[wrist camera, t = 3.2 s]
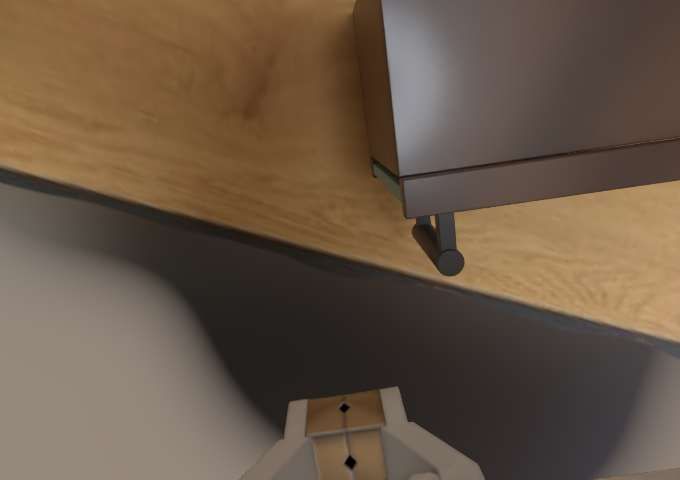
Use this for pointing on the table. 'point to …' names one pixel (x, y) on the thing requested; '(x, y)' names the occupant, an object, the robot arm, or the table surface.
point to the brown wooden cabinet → (519, 97)
